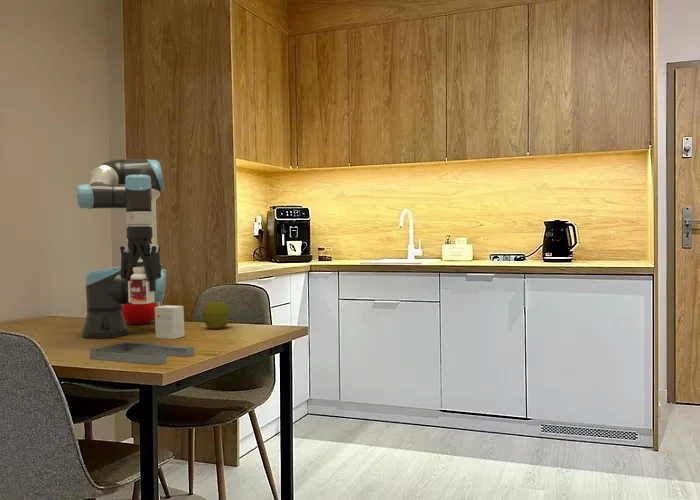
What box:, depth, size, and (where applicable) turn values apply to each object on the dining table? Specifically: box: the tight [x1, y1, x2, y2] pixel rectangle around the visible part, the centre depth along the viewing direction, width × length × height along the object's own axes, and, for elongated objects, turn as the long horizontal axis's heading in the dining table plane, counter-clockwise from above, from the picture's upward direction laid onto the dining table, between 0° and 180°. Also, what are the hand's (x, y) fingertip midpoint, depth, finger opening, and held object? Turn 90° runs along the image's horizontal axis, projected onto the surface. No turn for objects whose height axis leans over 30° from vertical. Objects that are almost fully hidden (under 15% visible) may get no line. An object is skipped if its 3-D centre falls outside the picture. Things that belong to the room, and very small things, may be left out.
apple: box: [202, 301, 231, 330], centre depth 249 cm, size 10×10×11 cm
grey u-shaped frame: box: [89, 341, 195, 366], centre depth 196 cm, size 25×15×2 cm, turn 65°
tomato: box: [122, 302, 158, 325], centre depth 266 cm, size 12×13×11 cm
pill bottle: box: [131, 267, 148, 304], centre depth 208 cm, size 6×6×11 cm
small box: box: [154, 304, 185, 340], centre depth 231 cm, size 8×6×10 cm
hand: (141, 302), depth 208 cm, fingers closed on pill bottle, 6 cm apart
